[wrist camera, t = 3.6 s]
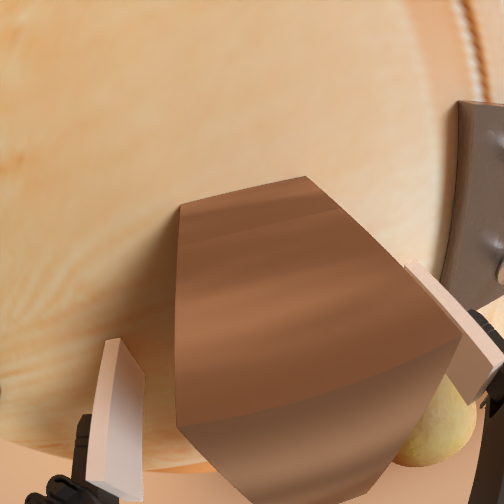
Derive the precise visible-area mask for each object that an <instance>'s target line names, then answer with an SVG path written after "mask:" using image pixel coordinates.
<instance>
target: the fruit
mask: <svg viewBox="0 0 504 504" xmlns="http://www.w3.org/2000/svg"><path fill="white" fill-rule="evenodd" d="M475 424H476V404H475V402H473V403H472V404H470V405H468V406H467V404H466V403H465V401H464V400H463V398H462V397H461V395H460V394H459V392H458V391H457V389H456V388H455V386H454V385H453V383H452V382H451V380H450V379H449V377H448V376H447V375H446V373H445V375H444V377H443V379H442V380H441V382H440V384H439V386H438V388H437V390H436V392H435V394H434V395H433V397H432V399H431V401H430V403H429V404H428V406H427V408H426V410H425V411H424V413H423V415H422V416H421V418H420V420H419V421H418V423H417V425H416V426H415V428H414V429H413V431H412V432H411V434H410V435H409V437H408V439H407V440H406V442H405V443H404V444H403V446H402V447H401V449H400V450H399V452H398V453H397V455H396V456H395V457H394V459H393V460H392V461H391V462H394V463H395V464H399V465H401V466H407V467H424V466H429V465H433V464H436V463H438V462H441V461H444V460H445V459H447V458H449V457H451V456H453V455H454V454H455V453H457V452H458V451H459V450H460V449H461V448H462V447H463V446H464V445H465V444H466V443H467V442H468V440H469V439H470V437H471V435H472V433H473V431H474V428H475Z"/></svg>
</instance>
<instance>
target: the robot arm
mask: <svg viewBox="0 0 504 504" xmlns="http://www.w3.org/2000/svg"><path fill="white" fill-rule="evenodd" d="M404 269H405V270H406V271H407V272H408V273H409V274H410V275H411V276H412V277H413V278H414V279H415V281H416V282H417V283H418V284H419V285H420V286H421V287H422V288H423V289H424V290H425V291H426V292H427V294H428V295H429V296H430V297H431V298H432V299H433V300H434V301H435V302H436V304H437V305H438V306H439V307H440V308H441V309H442V310H443V311H444V313H445V314H446V315H447V316H448V317H449V318H450V320H451V321H452V322H453V323H454V324H455V325H456V327H457V328H458V329H459V330H460V331H461V333H462V334H463V335H462V338H461V340H460V342H459V345H458V347H457V349H456V351H455V354H454V356H453V358H452V360H451V362H450V364H449V366H448V368H447V371H446V375H447V376H448V377H449V379H450V380H451V382H452V383H453V385H454V386H455V388H456V389H457V391H458V392H459V394H460V395H461V397H462V398H463V400H464V401H465V403H466V404H467V406H468V405H470V404H472V403H473V402H475V401H476V400H478V399H479V398H480V397H481V396H482V394H483V393H484V392H485V390H486V391H487V393H488V395H487V397H486V398H485V399H484V401H483V402H482V403H481V405H480V408H483V406H484V405H485V404H486V407H485V409H486V410H485V419H484V428H483V435H482V441H481V448H480V454H479V459H478V464H477V469H476V474H475V478H474V482H473V486H472V490H471V494H470V498H469V501H468V504H504V339H503V338H502V337H501V336H500V334H499V333H498V332H497V331H496V330H494V328H493V326H492V325H491V324H489V322H488V321H487V320H486V319H485V318H484V316H483V315H482V314H480V313H478V312H477V311H475V310H473V309H470V310H468V311H466V310H465V309H464V308H463V307H462V306H461V305H460V304H459V303H458V302H457V300H456V299H455V298H454V297H453V296H452V295H451V294H450V293H449V292H448V291H447V290H446V289H445V288H444V287H443V286H442V285H441V284H440V283H439V282H438V281H437V280H436V279H435V278H434V277H433V276H432V275H431V274H430V273H429V272H428V271H427V270H426V269H425V268H424V267H423V266H422V265H421V264H420V263H419V262H418V261H415V262H412V263H409V264H406V265H404ZM144 383H145V374H144V373H143V371H142V370H141V368H140V367H139V365H138V364H137V362H136V361H135V359H134V358H133V356H132V355H131V353H130V352H129V350H128V349H127V347H126V345H125V344H124V342H123V341H122V339H121V338H115V339H110V340H106V342H105V346H104V351H103V356H102V361H101V366H100V371H99V376H98V382H97V387H96V393H95V399H94V406H93V413H92V414H85V415H83V416H82V418H81V420H80V421H79V423H78V426H77V432H76V440H75V448H74V456H73V465H72V475H71V479H70V478H68V477H66V476H64V475H55V476H53V477H52V478H51V479H50V480H49V481H48V483H47V486H46V494H47V496H43V495H41V494H39V493H31V494H29V495H28V496H27V498H26V499H25V504H119V498H121V499H123V500H125V501H137V502H138V501H141V502H143V501H144V500H143V463H142V440H143V403H144Z"/></svg>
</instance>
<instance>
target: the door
mask: <svg viewBox="0 0 504 504" xmlns="http://www.w3.org/2000/svg"><path fill="white" fill-rule="evenodd" d="M462 335H463V334H462V333H461V331H460V330H459V329H458V328H457V327H456V325H455V324H454V323H453V322H452V321H451V320H450V318H449V317H448V316H447V315H446V314H445V313H444V311H443V310H442V309H441V308H440V307H439V306H438V305H437V304H436V302H435V301H434V300H433V299H432V298H431V297H430V296H429V295H428V294H427V292H426V291H425V290H424V289H423V288H422V287H421V286H420V285H419V284H418V283H417V282H416V281H415V279H414V278H413V277H412V276H411V275H410V274H409V273H408V272H407V271H406V270H405V269H404V268H403V267H402V266H401V265H400V264H399V263H398V262H397V261H396V260H395V259H394V258H393V257H392V256H391V255H390V254H389V253H388V252H387V251H386V250H385V249H384V248H383V247H382V246H381V245H380V244H379V243H378V242H377V241H376V240H375V239H374V238H373V237H372V236H371V235H370V234H369V233H368V232H367V231H366V230H365V229H364V228H363V227H362V226H361V225H360V224H359V223H358V222H356V221H355V220H354V219H353V218H352V217H351V216H350V215H349V214H348V213H347V212H346V211H345V210H344V209H342V208H341V207H340V206H339V205H338V204H337V203H336V202H335V201H334V200H333V199H331V198H330V197H329V196H328V195H327V194H326V193H325V192H324V191H322V190H321V189H320V188H319V187H318V186H317V185H316V184H314V183H313V182H312V181H311V180H310V179H309V178H307V177H306V176H304V177H299V178H294V179H289V180H284V181H279V182H275V183H270V184H265V185H261V186H256V187H252V188H247V189H243V190H239V191H234V192H230V193H226V194H221V195H217V196H213V197H209V198H205V199H201V200H197V201H193V202H189V203H185V204H181V206H180V219H179V233H178V249H177V269H176V295H175V399H176V424H177V428H178V429H179V430H180V431H181V432H182V434H183V435H184V436H185V437H186V438H187V439H188V440H189V441H190V443H191V444H192V445H193V446H194V447H195V448H196V449H197V450H198V451H199V452H200V453H201V454H202V456H203V457H204V458H205V459H206V460H207V461H208V462H209V463H210V464H211V465H212V466H213V467H214V468H215V469H216V470H217V471H218V472H219V473H220V474H221V475H222V476H223V477H224V478H225V479H226V480H228V482H230V483H231V484H232V485H233V486H234V487H235V488H236V489H237V490H238V491H239V492H240V493H241V494H243V495H244V496H245V497H246V498H247V499H248V500H249V501H250V502H252V503H253V504H339V503H342V502H344V501H347V500H350V499H353V498H355V497H358V496H361V495H363V494H366V493H367V492H368V491H369V490H370V488H371V487H372V486H373V485H374V484H375V482H376V481H377V480H378V479H379V477H380V476H381V475H382V473H383V472H384V471H385V470H386V468H387V467H388V465H389V464H390V463H391V461H392V460H393V459H394V457H395V456H396V455H397V453H398V452H399V450H400V449H401V447H402V446H403V444H404V443H405V442H406V440H407V439H408V437H409V435H410V434H411V432H412V431H413V429H414V428H415V426H416V425H417V423H418V421H419V420H420V418H421V416H422V415H423V413H424V411H425V410H426V408H427V406H428V404H429V403H430V401H431V399H432V397H433V395H434V394H435V392H436V390H437V388H438V386H439V384H440V382H441V380H442V379H443V377H444V375H445V373H446V371H447V368H448V366H449V364H450V362H451V360H452V358H453V356H454V354H455V351H456V349H457V347H458V345H459V342H460V340H461V338H462Z"/></svg>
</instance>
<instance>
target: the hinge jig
mask: <svg viewBox="0 0 504 504" xmlns="http://www.w3.org/2000/svg"><path fill="white" fill-rule="evenodd" d="M458 104H459V143H458V165H457V178H456V189H455V199H454V207H453V215H452V222H451V228H450V235H449V241H448V246H447V252H446V257H445V262H444V266H443V271H442V276H441V280H440V284H441V285H442V286H443V287H444V288H445V289H446V290H447V291H448V292H449V293H450V294H451V295H452V296H453V297H454V298H455V299H456V300H457V302H458V303H459V304H460V305H461V306H462V307H463V308H464V309H465V310H466V311H468V310H470V309H473V310H475V311H476V310H478V309H480V308H481V307H483V306H485V305H487V304H489V303H490V302H492V301H494V300H496V299H497V298H499V297H501V296H502V295H504V104H497V103H487V102H475V101H460V100H458Z"/></svg>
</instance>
